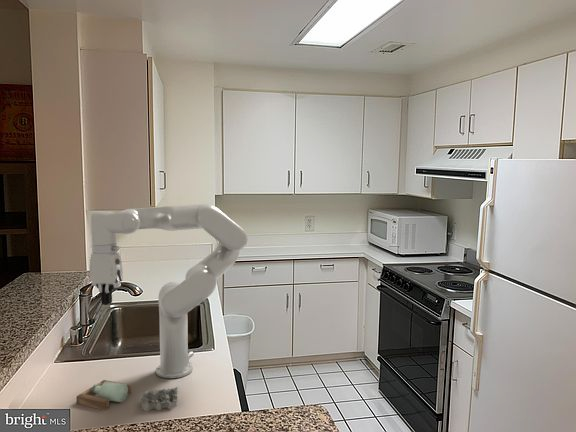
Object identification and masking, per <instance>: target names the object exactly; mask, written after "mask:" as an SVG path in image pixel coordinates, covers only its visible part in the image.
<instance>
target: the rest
mask: <svg viewBox="0 0 576 432" xmlns="http://www.w3.org/2000/svg"><path fill="white" fill-rule="evenodd" d="M104 382H113V383H118V381H117V382H116V381H111V380H107V379H103V380H101V381H100V382H98V383H96V385H99V386H102V384H103V383H104ZM120 383H121V382H120ZM121 384H123V383H121ZM125 384H126V385H127V387H128V393H127V396H129V394H131V393H132V385H131V384H127V383H125ZM92 387H93V386H92ZM92 387H89V388H88V389H86V390H85V391H83V392H81V393H79V394H78V395H76V404H77V405H81V406H85V407H89V408H94V409H98V410H102V411H103V410H104V411H106V410H108V409H109V408H110V401H109V399H104V398H100V397H99V396H96V395H97V394H92Z"/></svg>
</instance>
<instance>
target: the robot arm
mask: <svg viewBox="0 0 576 432" xmlns="http://www.w3.org/2000/svg"><path fill="white" fill-rule="evenodd" d="M147 229H148V230H151V229H154V230H155V229H156V230H163V231H164V230H165V231H171V232H175V231H176V232H177V231H185V230H186V231H187V230H188V231H189V230H199V229H200V230H201V229H203V230H204V231H205V232H206V233H207V234H209V236H211V237H212V238H213V239H215V241H217V243H218V244H217V246H216V248H215V249H214V250H213V251H212V252H211V253H210V254H208V255H207V256H206V257H204V258H203V259H202V260H200V261H199V262H198V263H196V264H195V265H193V266H192V267H190V268H189V269H188V270H187V271H186V273H185V279H184V280H183V281H181V282H176V281H170V282H166V283H165V284H164V285H163V286H162V287H161V288H160V290H159V292H158V296H157V297H158V298H157V299H158V312H159V317H158V318H159V349H160V350H159V357H160V358H159V361H160V362H159V363H160V364H159V365H157V367H156V368H155V375H156V376H158V377H159V378H163V379H178V378H183V377H185V376H187V375H190V373H192V371H193V364H192V363H191V362H190V361H189V360H190V358H192V357H193V356H194V355H195V354H194V352H193V351H192V350H191V351H189V346H188V343H189V340H188V339H189V338H188V333H189V332H188V326H189V325H188V323H189V322H188V320H189V319H188V313H190V311H192V310H194V309H195V308H196V307H197V306H199V305H200V304H201V303H203V302H204V301H205V300H207V299H208V298H209V297H210V296H211V295H212V294H213V293H214V291H215V290H216V287H217V280H218V279H219V278H220V277H221V276H223V275H224V274H225V273H226V272H227V271H229V270H230V269H231V268H232V267H233V266H234V264H235V263H236V261H237V259H238V257H239V254H240V251H241V250H243V249H244V248H246V245H247V243H248V234H247V232H246V231H245V229H244V228H243V227H241V226H240V225H238V224H237V223H236V222H235V221H234V220H232V219H231V218H230V217H228V216H227V215H226V214H225V213H224V212H223V211H221V210H220V209H219V208H218V207H216V206H214V205H212V204H208V203H204V204H203V203H202V204H201V203H200V204H187V205H183V204H182V205H173V206H172V205H169V206H168V205H167V206H166V205H165V206H159V207H142V208H141V207H139V208H127V209H123V210H121V211H119V212H113V211H104V210H103V211H95V212H92V213H91V215H90V230H91V231H90V232H91V233H90V234H91V235H90V236H91V254H90V257H89V258H90V259H89V272H88V273H89V280H90V282H91V286H94V287H96V288H97V290H98V292H99V293H100V299H101V301H100V302H101V305H103V306H104V305H105V306H107V305H110V304H112V303H113V292H114V289H115V288H120V287H121V286H122V284H121V283H122V282H123V280H124V271H123V263H122V257H121V255H120V252H118V251H119V250H120V247H119V246H118V245H117V234H124V235H130V234H134V233H136V232H137V231H138V230H147Z"/></svg>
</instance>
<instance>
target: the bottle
mask: <svg viewBox="0 0 576 432" xmlns="http://www.w3.org/2000/svg"><path fill="white" fill-rule="evenodd" d="M113 382H114V381H112V382H104V383H103V384H102V386H99V385H96V384H97V383H96V384H94V385H92V394H96V395H98V397H99V398H104V399H109V402H116V403H117V402H118V403H123V402H124V401H125V400H126V398H127V396H128V395H127V393H128V387H127V385H128V384H127V383H122V384H121V382H117V383H113ZM126 384H127V385H126Z"/></svg>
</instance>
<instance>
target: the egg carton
mask: <svg viewBox="0 0 576 432" xmlns="http://www.w3.org/2000/svg"><path fill="white" fill-rule="evenodd" d="M178 392H179V390H178V387H174V388H167V389H166V388H163V389H147V390H146V391H144V392H143V394H142V397H141V399H140V403H141V410H144V411H145V412H149V411H150V410H153V409H155V410H157V411H161V410H162V409H163V408H168V409H169V410H171V409H173V408H175V407H177V406H178V403H177V402H178ZM170 399H172V401H170ZM159 400H161V402H160V401H159Z"/></svg>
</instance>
